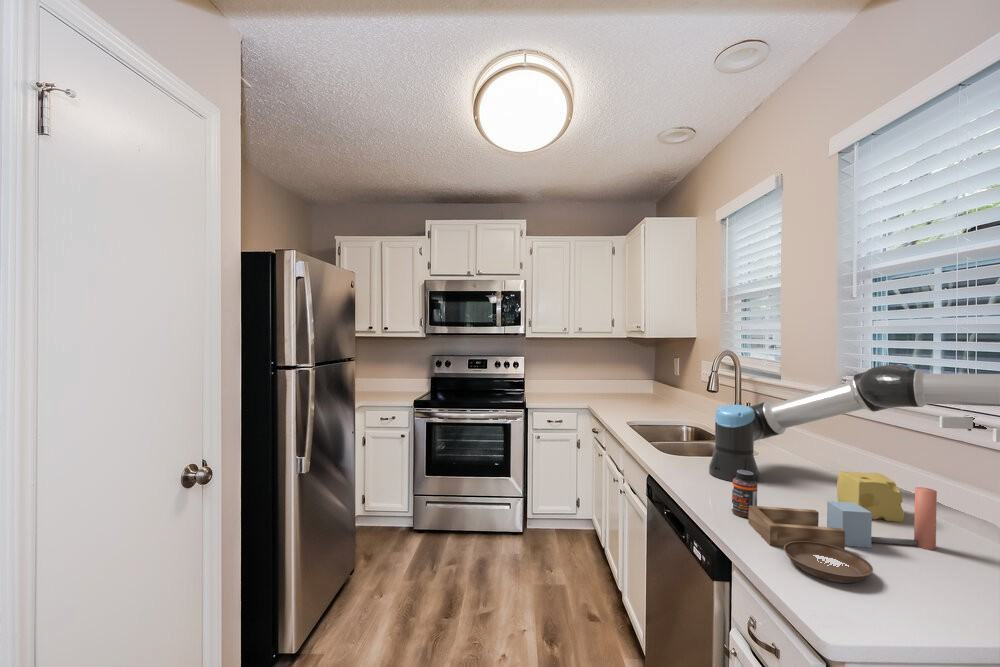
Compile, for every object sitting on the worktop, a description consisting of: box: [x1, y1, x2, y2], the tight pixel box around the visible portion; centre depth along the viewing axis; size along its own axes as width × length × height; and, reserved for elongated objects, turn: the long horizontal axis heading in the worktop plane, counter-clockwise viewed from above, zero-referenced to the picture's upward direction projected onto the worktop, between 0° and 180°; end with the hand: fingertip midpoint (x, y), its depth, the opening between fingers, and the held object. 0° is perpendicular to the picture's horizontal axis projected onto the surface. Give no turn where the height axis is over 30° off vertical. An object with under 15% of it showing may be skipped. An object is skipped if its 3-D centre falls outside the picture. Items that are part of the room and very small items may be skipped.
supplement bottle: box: [731, 470, 758, 519], centre depth 119 cm, size 6×6×11 cm
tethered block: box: [826, 486, 938, 551], centre depth 103 cm, size 21×6×13 cm, turn 82°
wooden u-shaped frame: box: [747, 505, 846, 550], centre depth 106 cm, size 16×12×4 cm
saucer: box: [783, 541, 874, 584], centre depth 92 cm, size 15×15×3 cm
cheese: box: [836, 470, 905, 523], centre depth 121 cm, size 10×11×10 cm
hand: (965, 427), depth 101 cm, fingers open, 13 cm apart
